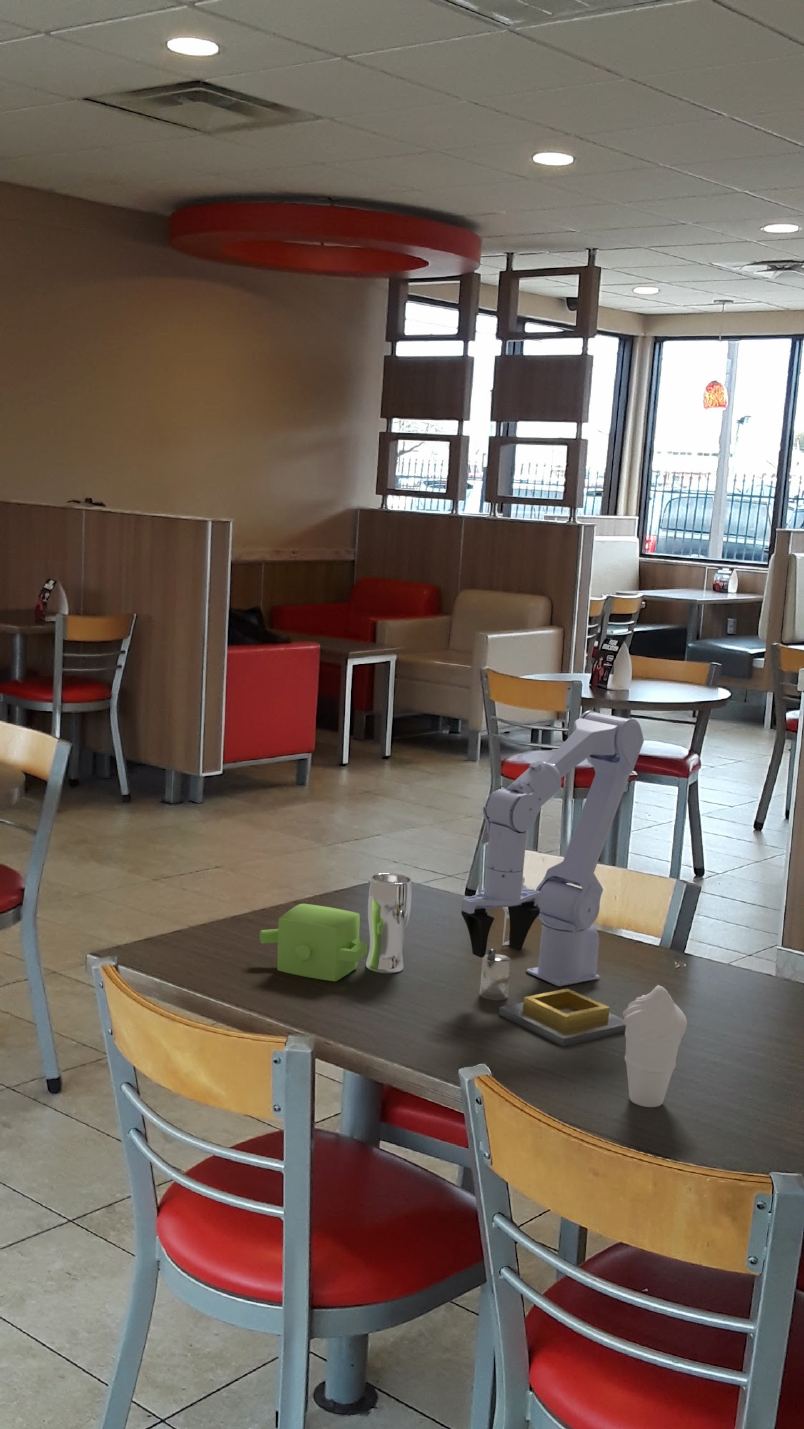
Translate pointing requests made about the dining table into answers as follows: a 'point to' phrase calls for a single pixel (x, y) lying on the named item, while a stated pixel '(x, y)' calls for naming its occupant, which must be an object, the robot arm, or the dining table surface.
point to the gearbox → (317, 942)
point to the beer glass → (388, 921)
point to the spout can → (495, 976)
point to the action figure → (508, 914)
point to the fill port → (564, 1017)
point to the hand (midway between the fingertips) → (497, 952)
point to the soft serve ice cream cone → (652, 1045)
